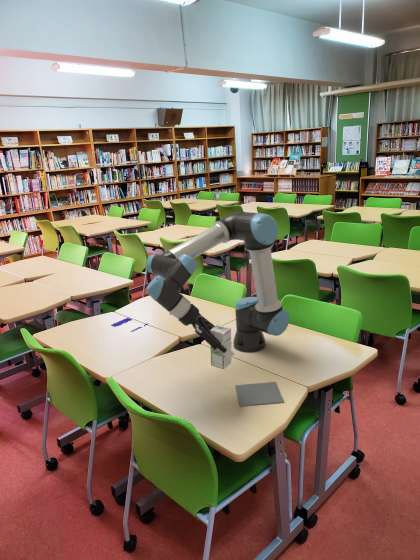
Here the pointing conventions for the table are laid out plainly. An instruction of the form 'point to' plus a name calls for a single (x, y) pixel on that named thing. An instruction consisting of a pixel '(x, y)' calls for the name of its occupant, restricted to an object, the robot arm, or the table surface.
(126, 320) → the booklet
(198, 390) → the table surface
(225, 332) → the syrup box
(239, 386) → the mat
